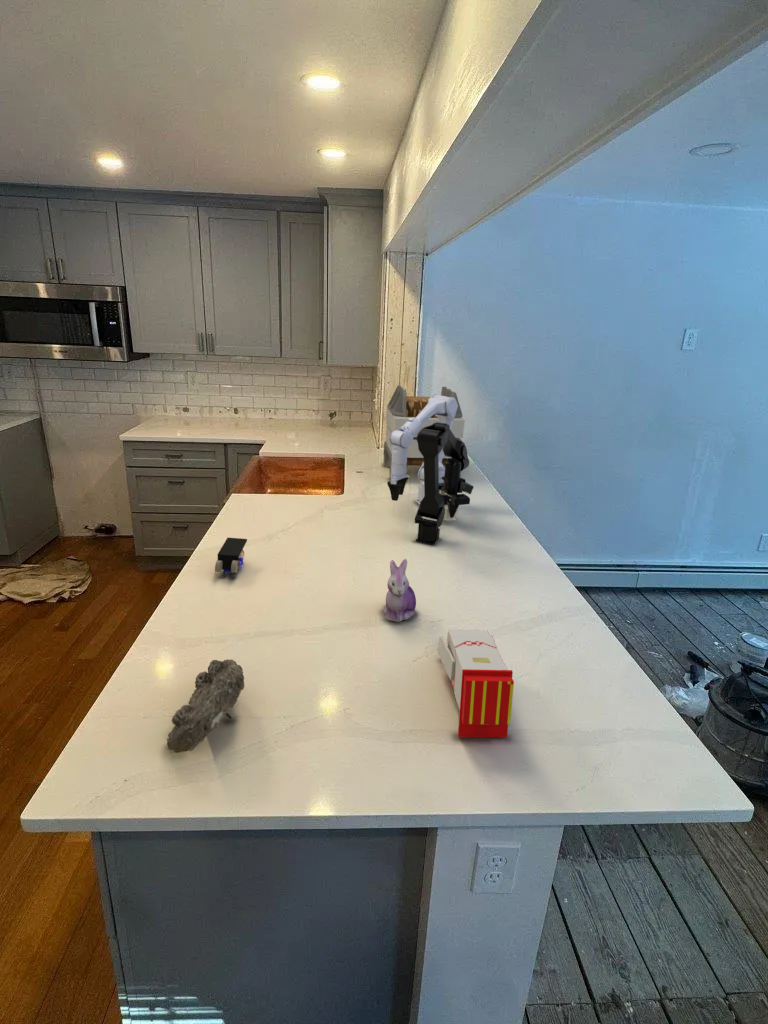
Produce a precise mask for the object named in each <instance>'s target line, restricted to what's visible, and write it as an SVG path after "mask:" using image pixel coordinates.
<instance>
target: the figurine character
mask: <svg viewBox="0 0 768 1024" xmlns="http://www.w3.org/2000/svg"><path fill="white" fill-rule="evenodd" d="M247 542H248V538H240V537H226V539H225V541H224V543H223V544H222V546H221V547H220V549H219V551H218V552H217V560H216V562H215V564H214V572H215V573H221V577H222V578H224V577H225V576H226V574H227V573H230V574H231V573H232V574H231V578H234V577H235V575H236V573H237V572H239V571H240V567H242V566H243V565H244V564H245V562H244V558H245V551H244V547H245V546H246V544H247Z"/></svg>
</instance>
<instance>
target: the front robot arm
mask: <svg viewBox="0 0 768 1024" xmlns="http://www.w3.org/2000/svg"><path fill="white" fill-rule="evenodd" d="M461 440H462V439H461ZM461 440H458V439H456V438H455V436H454V435H453V433H452V431H451V430H450V426H449V424H447V423H439V422H436V423H433V424H432V425H430V426H427V427H424V428H423V429H422V430H420V431H419V432H418V434H417V442H418V449H419V451H420V452H421V454H422V455H423V457H424V494H425V495H424V498H423V499H422V501H421V502H420V505H418V508H417V510H416V513H415V516H414V524H418V527H417V538H416V539H415V542H417V543H421V544H425V545H430V546H435V544H436V543H437V542H438V541H439V540H440V532H441V528H440V527H441V526H442V525H443V524H444V520H445V519H444V514H445V508H444V505H448V509H449V514H450V517H451V518H453V517H454V515H455V513H456V511H457V508H458V509H459V507H460V506H464V505H471V498H470V497H469V495H471V494H472V492H473V490H474V485H472V484H470V483H468V482H466V479H465V478H462V477H461V474H460V472H462V471H464V470H466V469H467V468H468V467H469V466H470V459H469V456H468V449H467V445H466V444H465V442H464V441H463V440H462V441H463V442H462V441H461ZM442 449H443V452H444V455H445V456H446V457H452V458H448V460H447V461H445V474H444V476H443V477H442V480H444V481H443V483H439V458H438V456H439V453H440V452H441V450H442ZM465 493H466V494H465Z"/></svg>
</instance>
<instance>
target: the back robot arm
mask: <svg viewBox="0 0 768 1024" xmlns="http://www.w3.org/2000/svg"><path fill="white" fill-rule="evenodd" d="M430 397H431V398H430V399H428V404H427V405H426V406H425V408H424V409H423V410H422V411H421V412H420V413H419V414H418V416H417V417H416V418H414V417H412V418H409V419H408V421H407V422H406V423H405V424H404V425H403V426H402V427H401V428H400V429H399V430H395V431H393V432H392V433H391V435H390V438H389V442H390V444H391V448H392V464H391V474H390V473H389V475H390V476H391V480H388V481H387V482H386V483H387V484H386V485H387V487H388V489H389V492H390V497H391V501H395V502H397V501H398V500H399V497H400V496H403V494H404V491H405V487H406V484H407V482H408V480H409V478H410V474H409V473H408V474H407V468H408V467H407V451H408V446H410V444H411V442H412V439H413V438H414V436H415V435H416V434H417V433H418V432H419V431H420V430H421V429H422V424H423V423H424V422H425V421H427V420H428V419H429V418H430V417H431V416H433V415H434V414H435V415H436V416H437V417H438V419H439V423H447V424H449V426H450V430H451V427H452V424H453V420H454V418H455V414H456V411H457V407H458V404H457V401H456V399H455V398H454V397H446V396H441V394H432V395H431V396H430ZM443 455H444V452H443V449H442V450H441V452H440V453H439V456H438V458H439V483H444V480H442V477H443V476H444V474H445V467H444V466H443V464H442V459H443ZM417 478H418V480H419V481H420V482H419V483H420V484H419V486H418V491H417V492H418V493H417V499H416V500H415V502H416V504H418V506H420V502H421V501H422V499H423V498H424V495H425V494H424V462H423V463H422V466H420V467H419V469H418V471H417Z"/></svg>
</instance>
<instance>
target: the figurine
mask: <svg viewBox="0 0 768 1024" xmlns="http://www.w3.org/2000/svg"><path fill="white" fill-rule="evenodd" d="M407 567H408V559H406V558H404V559H403V560H402V561H401V563H400V565H399V566H398V565H397V563H396V562H395V561H394V560H393V559H391V560H390V561H389V570H390V576H389V578H388V579H387V589H388V591H387V592H386V594H385V595H386V596H385V607H384V615H385V616H386V620H387V621H391V622H395V623H400V622H402V621H406V620H409V619H410V618H411V617H413V616H414V615H415V610H416V606H417V597H416V593H415V591H414V590H413V587H411V586H410V582H409V579H408V577H407V574H406V571H407Z"/></svg>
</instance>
